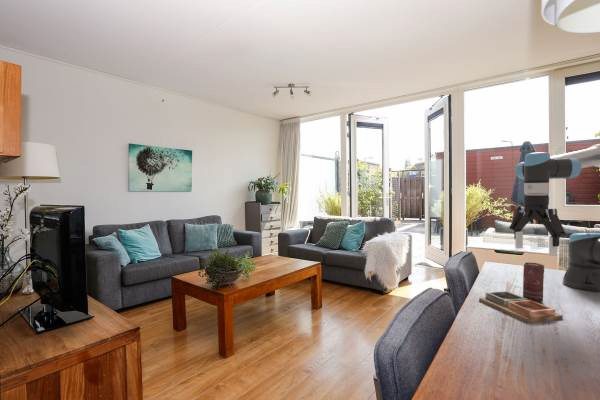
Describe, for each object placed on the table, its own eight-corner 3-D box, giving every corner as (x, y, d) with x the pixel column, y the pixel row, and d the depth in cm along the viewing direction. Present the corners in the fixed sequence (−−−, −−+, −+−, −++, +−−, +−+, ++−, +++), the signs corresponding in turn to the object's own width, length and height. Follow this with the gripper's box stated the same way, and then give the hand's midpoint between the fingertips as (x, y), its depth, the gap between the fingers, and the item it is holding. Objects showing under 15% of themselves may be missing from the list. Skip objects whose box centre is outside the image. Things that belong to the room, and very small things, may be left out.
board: (510, 298, 124) (510, 290, 124) (562, 319, 104) (562, 309, 104) (479, 300, 121) (479, 292, 121) (526, 322, 101) (526, 312, 101)
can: (547, 304, 117) (548, 266, 117) (527, 303, 119) (528, 265, 118) (538, 298, 123) (539, 262, 123) (519, 297, 125) (520, 261, 124)
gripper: (499, 194, 130) (499, 246, 131) (562, 195, 106) (560, 259, 107) (515, 193, 132) (514, 245, 133) (580, 195, 107) (578, 258, 108)
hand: (535, 251), depth 120 cm, fingers open, 13 cm apart
